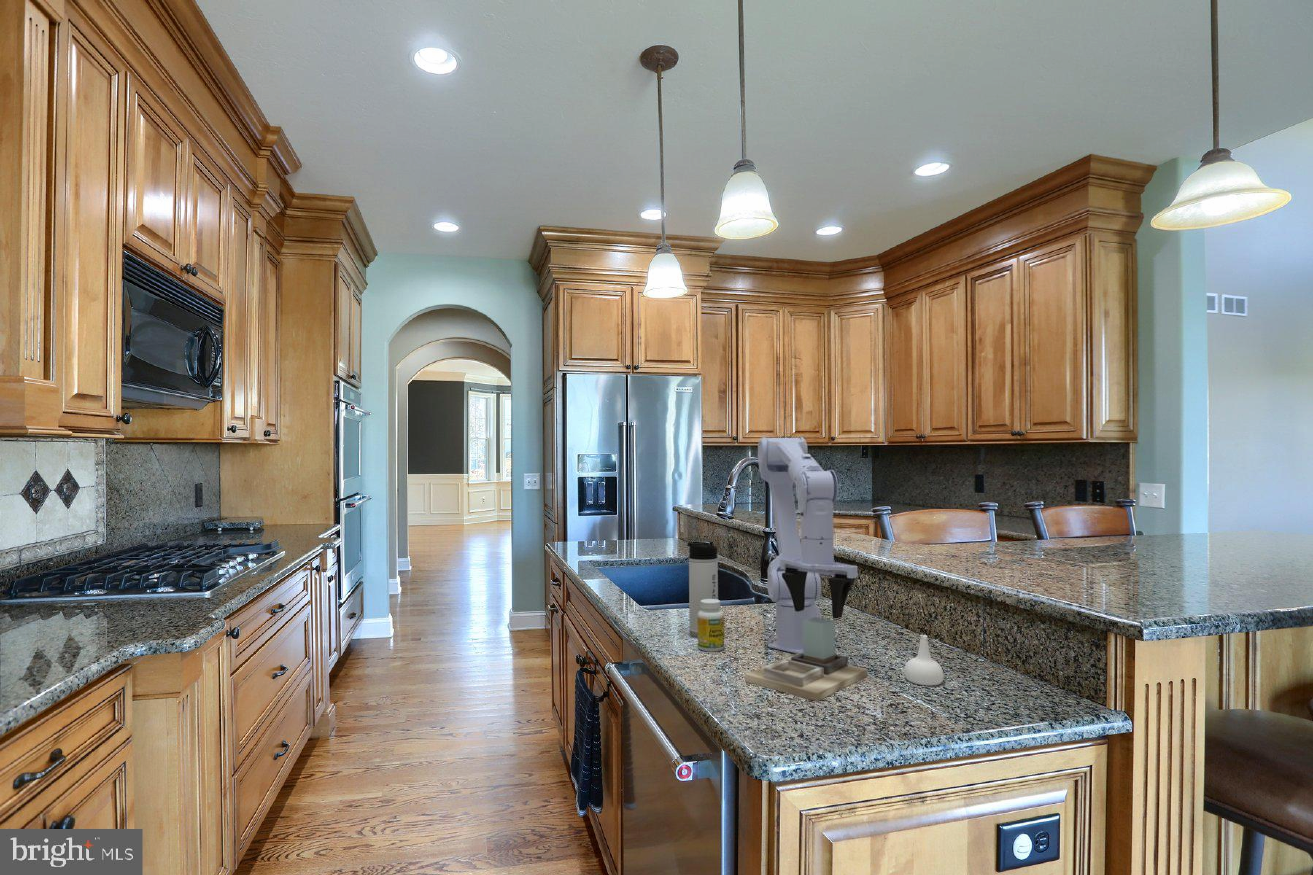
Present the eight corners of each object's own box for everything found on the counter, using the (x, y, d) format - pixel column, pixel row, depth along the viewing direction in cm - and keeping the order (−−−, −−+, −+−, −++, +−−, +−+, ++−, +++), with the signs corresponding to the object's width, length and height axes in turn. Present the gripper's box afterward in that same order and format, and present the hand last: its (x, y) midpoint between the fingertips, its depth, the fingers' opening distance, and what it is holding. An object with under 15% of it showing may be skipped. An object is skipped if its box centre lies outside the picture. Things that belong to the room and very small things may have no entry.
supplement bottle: (713, 643, 138) (712, 596, 138) (729, 649, 133) (729, 601, 134) (692, 647, 135) (692, 599, 135) (708, 653, 130) (708, 604, 131)
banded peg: (815, 661, 121) (814, 617, 121) (835, 665, 118) (834, 620, 119) (803, 666, 118) (803, 620, 119) (823, 671, 116) (823, 624, 116)
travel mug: (686, 631, 148) (685, 541, 148) (715, 630, 148) (714, 540, 149) (689, 638, 141) (689, 544, 142) (720, 637, 142) (719, 544, 143)
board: (798, 659, 126) (798, 645, 126) (867, 675, 117) (867, 660, 117) (745, 681, 114) (744, 665, 114) (817, 701, 104) (817, 683, 104)
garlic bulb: (904, 687, 112) (903, 641, 112) (904, 672, 118) (903, 628, 118) (944, 691, 110) (943, 644, 110) (942, 676, 116) (942, 631, 115)
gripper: (770, 536, 121) (771, 611, 121) (843, 543, 111) (844, 624, 111) (791, 533, 126) (792, 605, 126) (862, 539, 116) (863, 617, 116)
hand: (818, 613), depth 119 cm, fingers open, 7 cm apart
